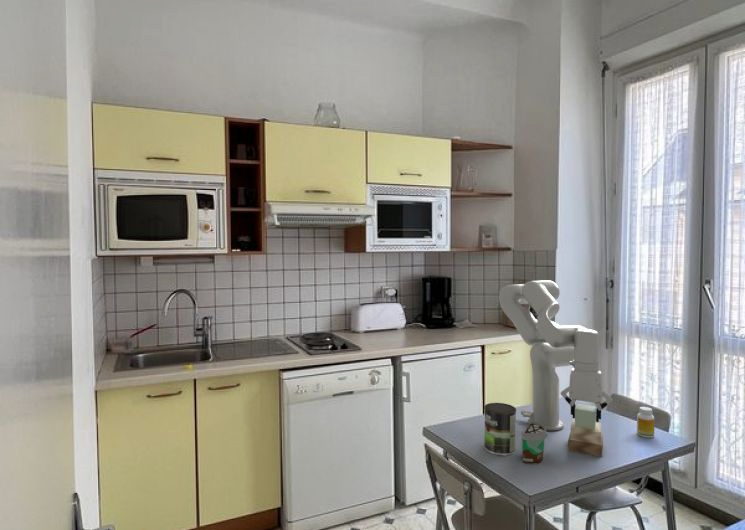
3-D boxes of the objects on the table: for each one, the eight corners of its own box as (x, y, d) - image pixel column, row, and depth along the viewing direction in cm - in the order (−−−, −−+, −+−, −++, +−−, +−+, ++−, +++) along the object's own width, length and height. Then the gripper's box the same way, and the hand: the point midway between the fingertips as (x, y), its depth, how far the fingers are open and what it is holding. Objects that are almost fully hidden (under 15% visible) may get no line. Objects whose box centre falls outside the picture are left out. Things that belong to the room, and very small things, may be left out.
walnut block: (568, 451, 152) (568, 439, 152) (571, 440, 161) (571, 429, 160) (601, 457, 147) (601, 445, 147) (602, 446, 156) (603, 434, 156)
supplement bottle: (656, 438, 161) (657, 411, 161) (640, 437, 162) (640, 410, 162) (650, 432, 166) (651, 406, 166) (634, 431, 167) (634, 405, 167)
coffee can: (497, 458, 146) (497, 414, 146) (477, 445, 156) (478, 404, 155) (522, 452, 150) (522, 410, 150) (502, 440, 160) (502, 400, 159)
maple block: (570, 439, 152) (570, 427, 152) (572, 430, 160) (572, 419, 160) (600, 444, 148) (600, 432, 147) (601, 434, 156) (601, 423, 155)
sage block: (574, 426, 153) (574, 409, 152) (576, 420, 158) (576, 403, 158) (594, 429, 150) (594, 411, 149) (595, 423, 155) (595, 406, 155)
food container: (542, 469, 138) (542, 437, 138) (521, 464, 142) (521, 432, 141) (550, 454, 149) (550, 424, 149) (530, 450, 152) (531, 420, 152)
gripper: (557, 365, 154) (556, 418, 155) (615, 372, 146) (614, 427, 146) (560, 361, 161) (559, 411, 161) (615, 367, 152) (615, 420, 153)
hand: (585, 418), depth 154 cm, fingers open, 6 cm apart
